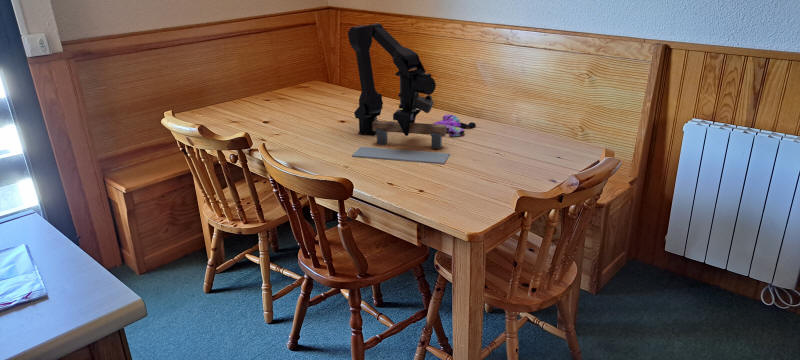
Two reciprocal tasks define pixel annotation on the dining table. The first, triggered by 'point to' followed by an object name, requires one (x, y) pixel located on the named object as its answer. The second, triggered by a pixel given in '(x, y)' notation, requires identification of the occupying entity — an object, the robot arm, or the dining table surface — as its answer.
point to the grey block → (436, 140)
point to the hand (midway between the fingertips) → (409, 133)
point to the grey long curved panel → (401, 155)
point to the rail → (414, 127)
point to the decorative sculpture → (454, 125)
